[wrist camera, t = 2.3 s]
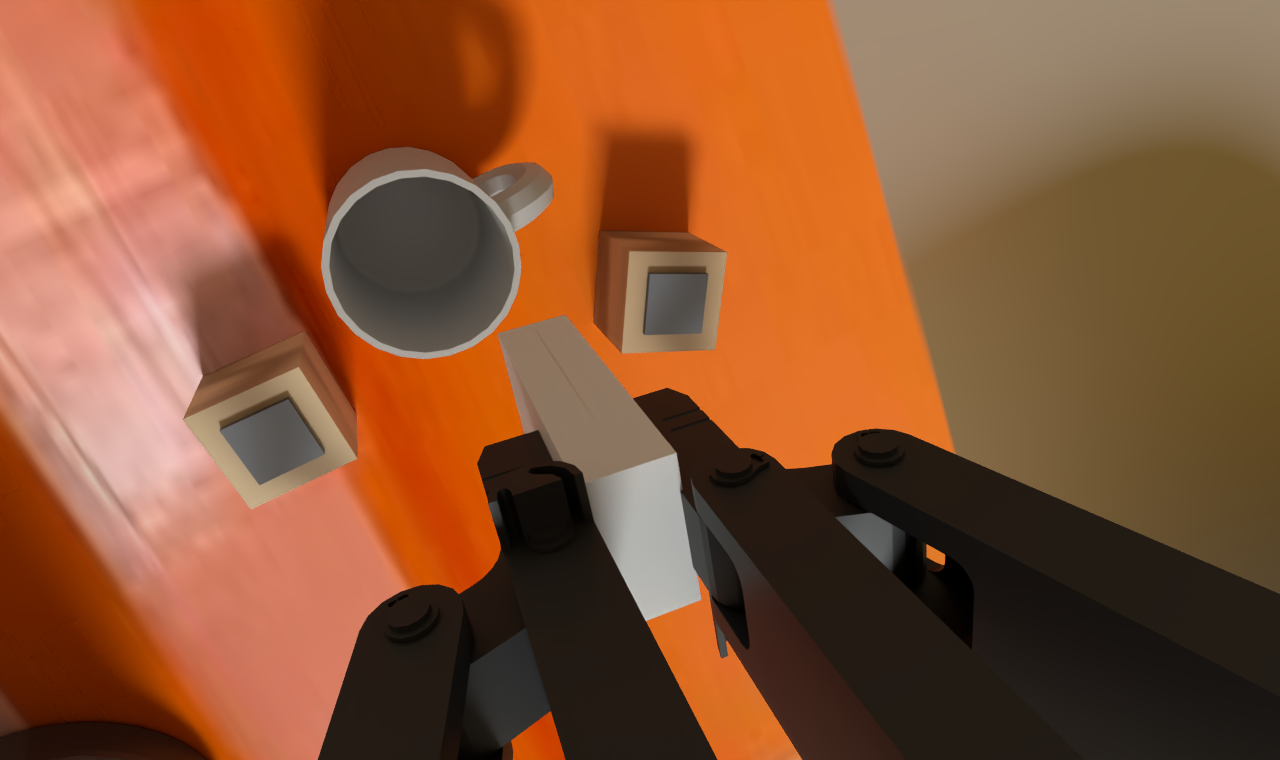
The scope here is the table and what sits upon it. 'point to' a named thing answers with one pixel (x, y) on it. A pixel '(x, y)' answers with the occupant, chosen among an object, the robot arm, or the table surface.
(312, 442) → the oak block
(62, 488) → the table surface
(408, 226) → the cup
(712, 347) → the oak block
